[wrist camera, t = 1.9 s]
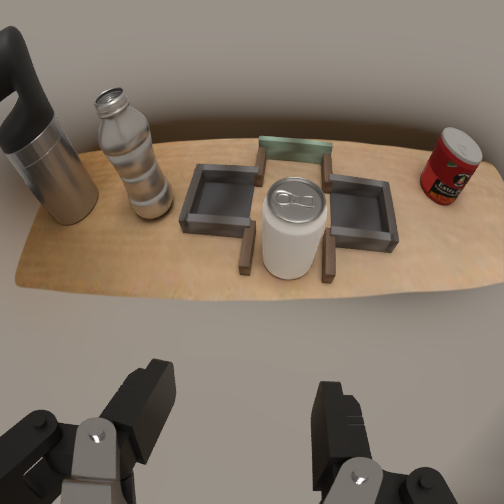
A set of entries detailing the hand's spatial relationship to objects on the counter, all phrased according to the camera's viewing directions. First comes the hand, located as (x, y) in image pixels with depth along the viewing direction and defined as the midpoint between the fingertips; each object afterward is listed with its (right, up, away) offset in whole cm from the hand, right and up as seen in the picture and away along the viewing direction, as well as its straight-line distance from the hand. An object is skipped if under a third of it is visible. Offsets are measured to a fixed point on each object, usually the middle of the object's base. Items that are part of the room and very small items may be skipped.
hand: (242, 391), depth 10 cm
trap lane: (+6, +11, +31) cm, 34 cm away
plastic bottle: (-14, +12, +33) cm, 38 cm away
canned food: (+33, +16, +33) cm, 50 cm away
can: (+5, +4, +28) cm, 29 cm away
